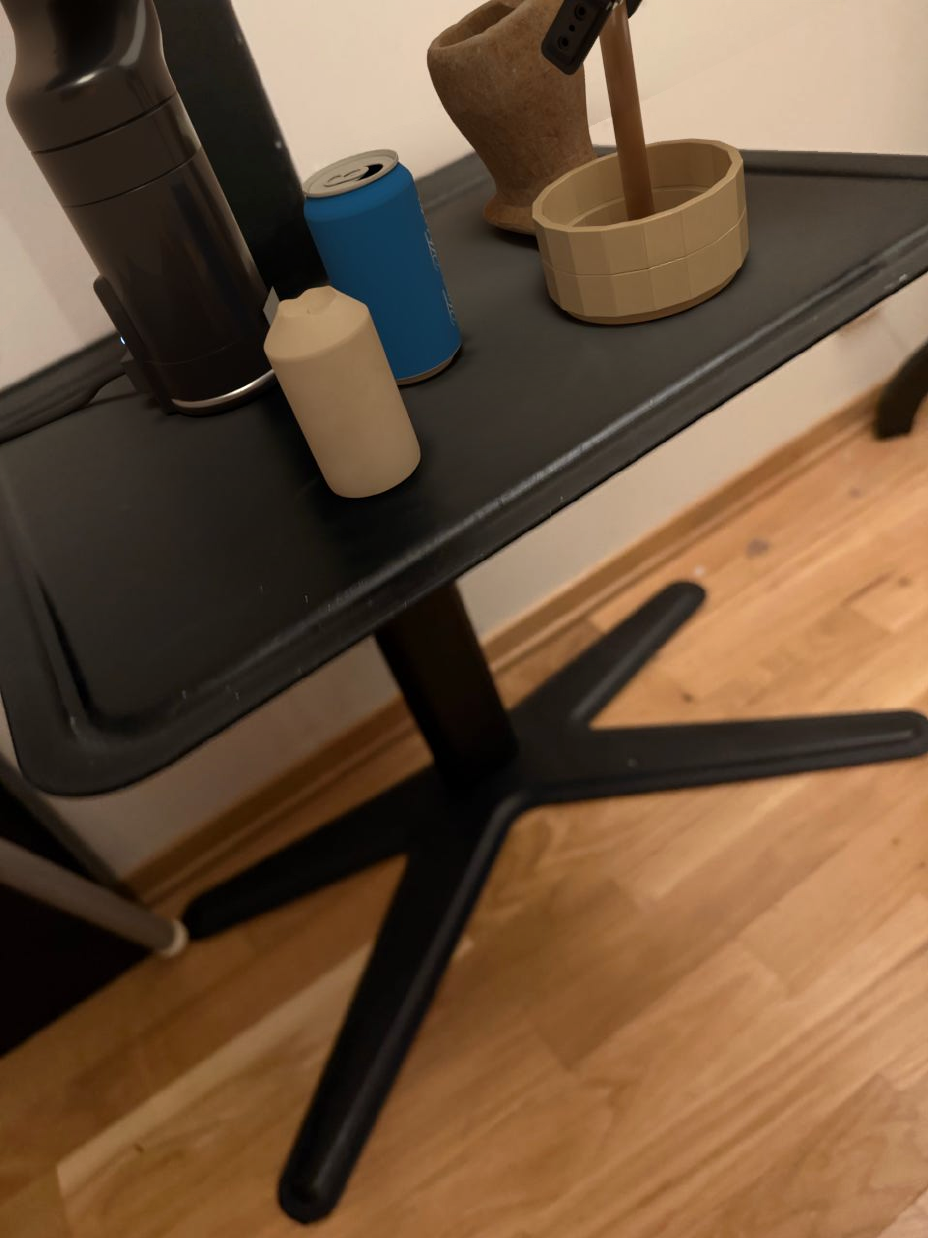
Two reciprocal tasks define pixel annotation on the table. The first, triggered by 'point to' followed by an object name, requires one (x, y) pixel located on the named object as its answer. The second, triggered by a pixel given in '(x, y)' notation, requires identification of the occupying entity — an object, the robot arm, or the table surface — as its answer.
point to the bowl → (644, 233)
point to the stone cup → (512, 103)
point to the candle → (342, 392)
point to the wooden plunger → (626, 114)
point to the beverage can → (384, 258)
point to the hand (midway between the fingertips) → (586, 34)
